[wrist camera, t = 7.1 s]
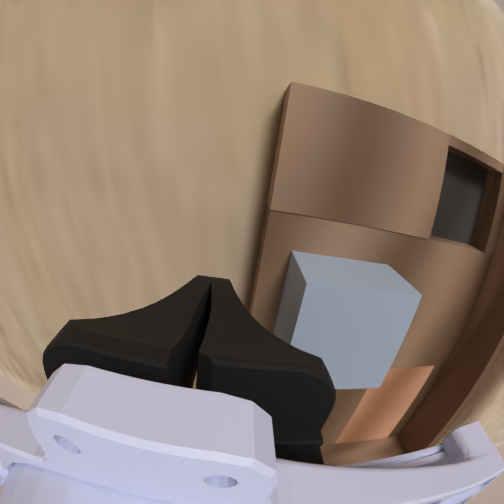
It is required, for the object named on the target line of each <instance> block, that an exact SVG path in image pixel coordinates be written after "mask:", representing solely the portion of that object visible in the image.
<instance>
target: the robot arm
mask: <svg viewBox="0 0 504 504" xmlns="http://www.w3.org/2000/svg"><path fill="white" fill-rule="evenodd" d="M43 366H44V370H45V374H46V376H47V379H48V381H47V382H46V384H45V385H44V387H43V388H42V390H41V391H40V393H39V394H38V396H37V397H36V399H35V400H34V402H33V403H32V405H31V407H30V409H29V410H28V411H26V410H23V409H21V408H19V407H17V406H15V405H13V404H12V403H10V402H8V401H6V400H4V399H3V398H0V485H1V486H2V488H1V491H0V504H465V503H466V502H467V501H469V500H470V499H471V498H472V497H474V496H475V495H476V494H478V493H479V492H480V491H481V490H482V489H484V488H485V487H486V486H487V485H489V484H490V483H491V482H492V481H493V480H494V479H496V478H497V477H498V476H499V475H500V474H501V473H502V472H503V471H504V461H503V459H502V458H501V456H500V454H499V453H498V451H497V449H496V448H495V446H494V445H493V443H492V441H491V440H490V438H489V437H488V435H487V434H486V432H485V430H484V429H483V427H482V426H481V424H480V423H479V421H475V422H472V423H469V424H466V425H463V426H460V427H458V428H456V429H455V430H453V431H452V432H451V433H450V434H449V435H448V436H447V437H446V438H445V440H444V441H443V442H442V444H440V445H437V446H433V447H430V448H426V449H423V450H419V451H415V452H411V453H407V454H403V455H398V456H394V457H389V458H384V459H379V460H373V461H367V462H361V463H354V464H346V465H337V466H330V465H324V462H323V458H322V453H321V449H320V446H322V444H323V437H322V433H321V430H322V428H323V426H324V425H325V423H326V421H327V419H328V417H329V415H330V413H331V412H332V410H333V407H334V404H335V401H336V391H335V387H334V384H333V382H332V379H331V376H330V374H329V372H328V370H327V368H326V366H325V364H324V362H323V360H322V358H320V357H318V356H315V355H312V354H310V353H307V352H305V351H302V350H300V349H298V348H296V347H294V346H292V345H290V344H288V343H286V342H285V341H283V340H281V339H280V338H278V337H277V336H275V335H274V334H272V333H271V332H270V331H268V330H267V329H266V328H264V327H263V326H262V325H261V324H260V323H259V322H258V321H257V320H256V319H255V318H254V317H253V316H252V315H251V314H250V313H249V312H248V311H247V309H246V308H245V307H244V305H243V304H242V302H241V301H240V299H239V297H238V296H237V294H236V292H235V290H234V288H233V286H232V283H231V282H230V280H229V279H222V278H215V277H208V276H201V275H198V276H196V277H195V278H193V279H192V280H191V281H189V282H188V283H187V284H185V285H184V286H183V287H181V288H180V289H179V290H177V291H176V292H174V293H172V294H171V295H169V296H167V297H166V298H164V299H162V300H160V301H158V302H156V303H154V304H151V305H149V306H147V307H144V308H141V309H138V310H135V311H131V312H128V313H125V314H120V315H116V316H110V317H104V318H96V319H79V320H69V321H68V322H67V324H66V325H65V326H64V327H63V328H62V329H61V330H60V332H59V333H58V334H57V335H56V336H55V338H54V339H53V340H52V341H51V342H50V344H49V345H48V346H47V348H46V349H45V351H44V353H43ZM196 372H197V383H196V389H192V387H193V383H194V379H195V375H196Z"/></svg>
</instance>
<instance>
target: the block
mask: <svg viewBox="0 0 504 504" xmlns="http://www.w3.org/2000/svg"><path fill="white" fill-rule="evenodd" d="M421 297H422V295H421V294H420V293H419V292H418V291H417V290H416V289H415V288H414V287H413V286H412V285H411V284H409V283H408V282H407V281H406V280H405V279H404V278H403V277H402V276H401V275H399V274H398V273H397V272H396V271H395V270H394V269H393V268H391V267H390V266H389V265H387V264H380V263H373V262H366V261H360V260H353V259H346V258H339V257H332V256H325V255H318V254H311V253H304V252H297V251H292V252H291V256H290V261H289V266H288V271H287V275H286V280H285V284H284V289H283V293H282V298H281V302H280V307H279V311H278V315H277V320H276V324H275V328H274V332H273V334H274V335H275V336H277V337H278V338H280V339H281V340H283V341H285V342H286V343H288V344H290V345H292V346H294V347H296V348H298V349H300V350H302V351H305V352H307V353H310V354H312V355H315V356H318V357H320V358H322V360H323V362H324V364H325V366H326V368H327V370H328V372H329V374H330V376H331V379H332V382H333V384H334V387H335V389H363V388H379V387H380V386H381V384H382V382H383V380H384V378H385V376H386V375H387V373H388V371H389V369H390V367H391V365H392V363H393V361H394V359H395V357H396V355H397V353H398V351H399V349H400V346H401V344H402V342H403V340H404V338H405V336H406V333H407V331H408V329H409V327H410V324H411V322H412V320H413V317H414V315H415V312H416V310H417V307H418V305H419V302H420V300H421Z"/></svg>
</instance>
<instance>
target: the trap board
mask: <svg viewBox="0 0 504 504" xmlns="http://www.w3.org/2000/svg"><path fill="white" fill-rule="evenodd" d="M292 251H297V252H304V253H311V254H318V255H325V256H332V257H339V258H346V259H353V260H360V261H366V262H373V263H380V264H387V265H389V266H390V267H391V268H393V269H394V270H395V271H396V272H397V273H398V274H399V275H401V276H402V277H403V278H404V279H405V280H406V281H407V282H408V283H409V284H411V285H412V286H413V287H414V288H415V289H416V290H417V291H418V292H419V293H420V294H421V295H422V297H421V300H420V302H419V305H418V307H417V310H416V312H415V315H414V317H413V320H412V322H411V324H410V327H409V329H408V331H407V333H406V336H405V338H404V340H403V342H402V344H401V346H400V349H399V351H398V353H397V355H396V357H395V359H394V361H393V363H392V365H391V367H390V369H389V371H388V373H387V375H386V376H385V378H384V380H383V382H382V384H381V386H380V387H379V388H363V389H335V391H336V401H335V404H334V407H333V410H332V412H331V413H330V415H329V417H328V419H327V421H326V423H325V425H324V426H323V428H322V430H321V433H322V437H323V444H322V446H320V449H321V453H322V458H323V462H324V465H330V466H337V465H346V464H354V463H361V462H367V461H373V460H379V459H384V458H389V457H394V456H398V455H403V454H407V453H411V452H415V451H419V450H423V449H426V448H430V447H433V446H434V445H435V444H436V443H437V442H438V441H439V440H440V438H441V437H442V436H443V435H444V434H445V433H446V431H447V430H448V429H449V428H450V427H451V425H452V424H453V423H454V422H455V420H456V419H457V418H458V416H459V415H460V414H461V412H462V411H463V410H464V408H465V407H466V406H467V404H468V403H469V402H470V400H471V399H472V397H473V396H474V394H475V393H476V391H477V390H478V389H479V387H480V385H481V384H482V382H483V381H484V379H485V378H486V376H487V375H488V373H489V371H490V370H491V368H492V366H493V365H494V363H495V361H496V359H497V358H498V356H499V354H500V352H501V350H502V349H503V347H504V164H502V163H501V162H499V161H498V160H496V159H494V158H492V157H491V156H489V155H487V154H486V153H484V152H482V151H480V150H479V149H477V148H475V147H473V146H471V145H469V144H467V143H465V142H464V141H462V140H460V139H458V138H456V137H454V136H452V135H450V134H447V133H445V132H443V131H441V130H439V129H437V128H435V127H432V126H430V125H428V124H425V123H423V122H421V121H418V120H416V119H414V118H411V117H409V116H406V115H404V114H401V113H398V112H396V111H393V110H390V109H387V108H385V107H382V106H379V105H376V104H373V103H370V102H367V101H364V100H361V99H357V98H354V97H351V96H347V95H344V94H340V93H337V92H333V91H329V90H325V89H321V88H317V87H313V86H309V85H304V84H300V83H295V82H291V83H290V84H289V86H288V87H287V89H286V91H285V98H284V104H283V110H282V116H281V122H280V128H279V134H278V140H277V146H276V152H275V158H274V164H273V170H272V176H271V182H270V188H269V194H268V200H267V206H266V212H265V218H264V224H263V230H262V236H261V241H260V247H259V253H258V259H257V265H256V270H255V276H254V282H253V288H252V293H251V299H250V305H249V311H248V312H249V313H250V314H251V315H252V316H253V317H254V318H255V319H256V320H257V321H258V322H259V323H260V324H261V325H262V326H263V327H264V328H266V329H267V330H268V331H270V332H271V333H272V334H273V332H274V328H275V324H276V320H277V315H278V311H279V307H280V302H281V298H282V293H283V289H284V284H285V280H286V275H287V271H288V266H289V261H290V256H291V252H292Z"/></svg>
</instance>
